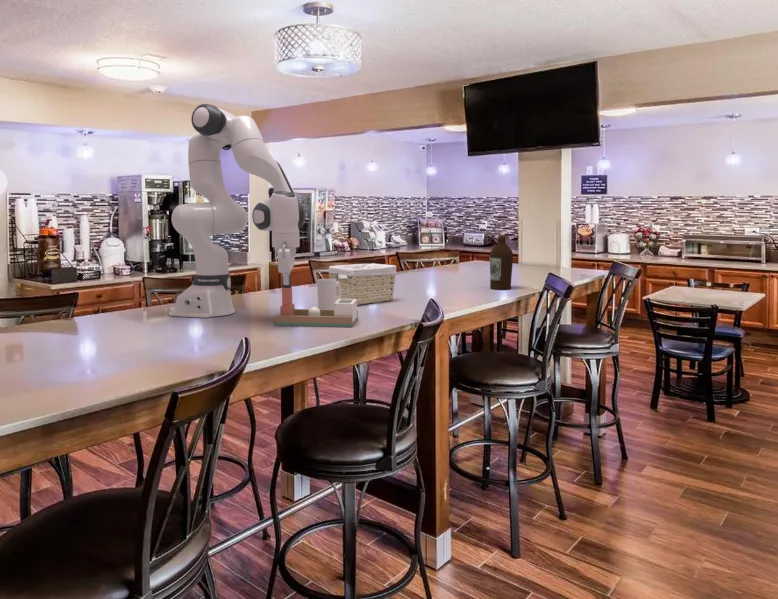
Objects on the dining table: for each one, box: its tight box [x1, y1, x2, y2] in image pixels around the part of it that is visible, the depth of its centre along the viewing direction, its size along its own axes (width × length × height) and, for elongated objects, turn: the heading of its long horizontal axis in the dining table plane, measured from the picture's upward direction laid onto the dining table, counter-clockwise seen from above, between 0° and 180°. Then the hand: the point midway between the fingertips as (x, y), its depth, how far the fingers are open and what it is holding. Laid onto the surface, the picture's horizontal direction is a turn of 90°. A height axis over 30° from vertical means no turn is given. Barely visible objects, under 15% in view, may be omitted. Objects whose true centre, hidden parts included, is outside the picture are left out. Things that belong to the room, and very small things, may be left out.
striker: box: [279, 274, 295, 316], centre depth 206 cm, size 3×7×14 cm, turn 175°
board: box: [274, 299, 359, 328], centre depth 206 cm, size 25×14×7 cm, turn 85°
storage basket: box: [328, 262, 397, 306], centre depth 250 cm, size 24×16×15 cm
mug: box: [316, 278, 342, 310], centre depth 225 cm, size 10×7×12 cm, turn 134°
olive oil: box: [489, 234, 514, 291], centre depth 289 cm, size 11×11×25 cm
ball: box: [308, 306, 320, 316], centre depth 206 cm, size 4×4×4 cm
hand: (286, 283), depth 206 cm, fingers closed on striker, 3 cm apart
